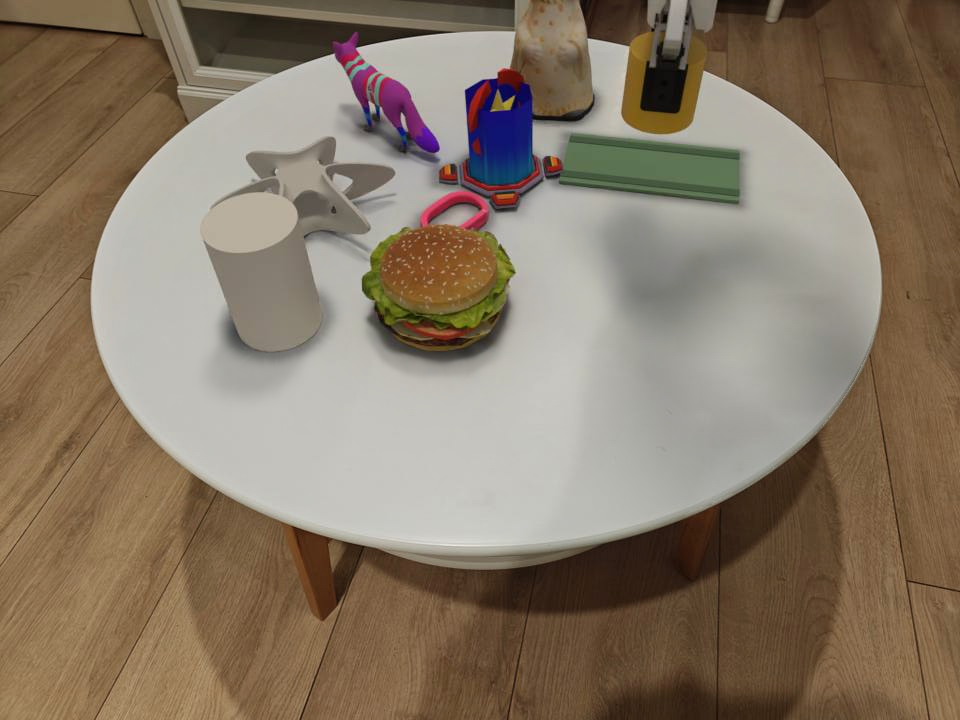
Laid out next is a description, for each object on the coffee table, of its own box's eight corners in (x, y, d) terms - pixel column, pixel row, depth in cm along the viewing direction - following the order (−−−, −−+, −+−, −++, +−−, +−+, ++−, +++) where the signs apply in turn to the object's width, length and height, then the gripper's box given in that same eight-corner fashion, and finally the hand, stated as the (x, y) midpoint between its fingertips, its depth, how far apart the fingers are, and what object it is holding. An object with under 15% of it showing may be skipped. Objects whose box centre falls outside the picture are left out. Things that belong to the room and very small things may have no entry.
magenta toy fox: (355, 102, 100) (343, 24, 92) (451, 156, 91) (446, 75, 84) (333, 114, 98) (318, 35, 90) (428, 170, 90) (421, 88, 82)
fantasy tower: (507, 213, 83) (504, 112, 74) (429, 177, 89) (417, 78, 80) (572, 165, 89) (576, 65, 80) (495, 133, 94) (491, 37, 86)
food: (533, 276, 77) (535, 212, 71) (483, 376, 69) (482, 313, 63) (409, 246, 81) (401, 183, 75) (347, 338, 72) (333, 275, 66)
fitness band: (448, 251, 80) (448, 240, 79) (409, 228, 83) (408, 217, 81) (499, 214, 84) (499, 203, 83) (460, 193, 86) (460, 182, 85)
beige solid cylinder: (290, 279, 78) (262, 180, 68) (339, 319, 74) (316, 220, 65) (221, 320, 74) (182, 222, 65) (268, 365, 70) (234, 266, 61)
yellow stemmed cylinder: (694, 99, 68) (712, 14, 62) (692, 138, 64) (710, 50, 58) (624, 93, 69) (635, 8, 63) (617, 130, 65) (628, 43, 59)
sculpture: (309, 297, 76) (296, 248, 71) (190, 217, 85) (172, 169, 80) (430, 212, 84) (426, 163, 80) (311, 147, 93) (301, 100, 88)
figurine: (501, 118, 97) (501, -50, 82) (507, 76, 103) (508, -86, 88) (594, 122, 96) (612, -47, 81) (594, 79, 102) (610, -84, 87)
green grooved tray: (738, 153, 91) (739, 149, 90) (738, 203, 84) (739, 200, 84) (571, 135, 94) (571, 131, 93) (558, 183, 87) (559, 179, 87)
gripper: (766, -115, 45) (705, 150, 58) (759, -194, 56) (709, 44, 69) (637, -121, 46) (606, 140, 59) (655, -198, 57) (626, 37, 71)
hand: (662, 86), depth 64 cm, fingers closed on yellow stemmed cylinder, 6 cm apart
